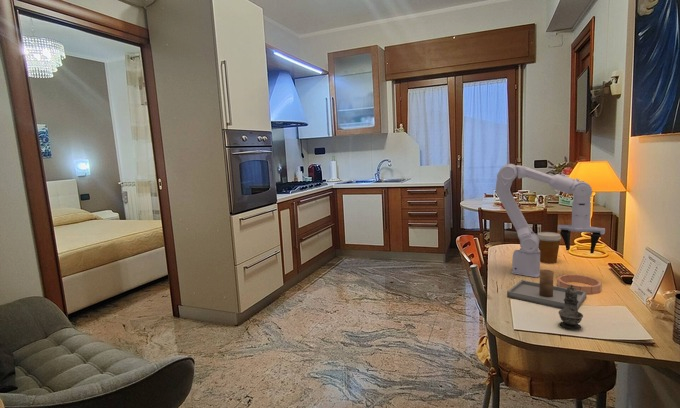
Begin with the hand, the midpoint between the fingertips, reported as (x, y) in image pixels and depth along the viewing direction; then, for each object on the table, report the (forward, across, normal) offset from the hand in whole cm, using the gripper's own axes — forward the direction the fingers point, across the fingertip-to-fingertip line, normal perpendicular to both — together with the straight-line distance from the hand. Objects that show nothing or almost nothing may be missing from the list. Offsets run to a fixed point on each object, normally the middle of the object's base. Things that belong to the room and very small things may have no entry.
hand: (579, 251), depth 140 cm
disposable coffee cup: (+11, -15, +17) cm, 25 cm away
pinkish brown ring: (+10, +2, -10) cm, 15 cm away
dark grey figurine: (+11, +7, -44) cm, 46 cm away
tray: (+10, -4, -26) cm, 28 cm away
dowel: (+10, -4, -26) cm, 28 cm away
